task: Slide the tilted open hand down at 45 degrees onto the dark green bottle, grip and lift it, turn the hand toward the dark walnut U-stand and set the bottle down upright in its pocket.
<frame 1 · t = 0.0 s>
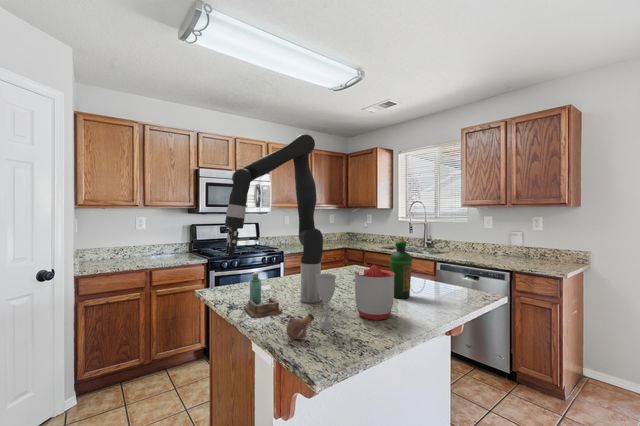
hand: (229, 255, 130), 22 cm above the countertop, tool pointing down, fingers open, 8 cm apart
chalice: (325, 327, 111), on the countertop
bottle: (255, 302, 141), on the countertop
citrus juicer: (372, 315, 124), on the countertop
bottle 2: (400, 297, 151), on the countertop
u rest: (262, 311, 128), on the countertop
brown animal figurine: (300, 339, 100), on the countertop
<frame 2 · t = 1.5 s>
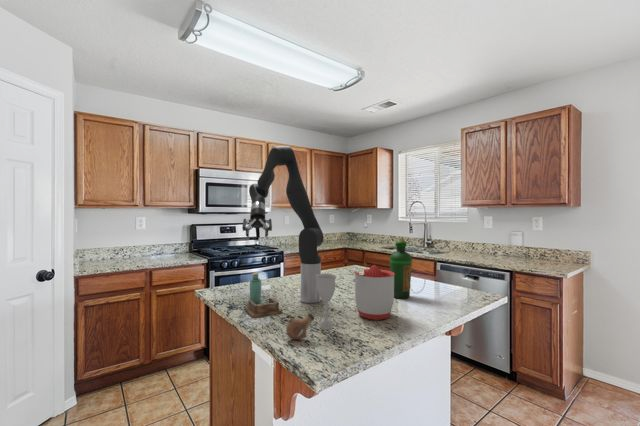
hand: (256, 236, 151), 29 cm above the countertop, tool tilted 45°, fingers open, 8 cm apart
nothing on the countertop moved.
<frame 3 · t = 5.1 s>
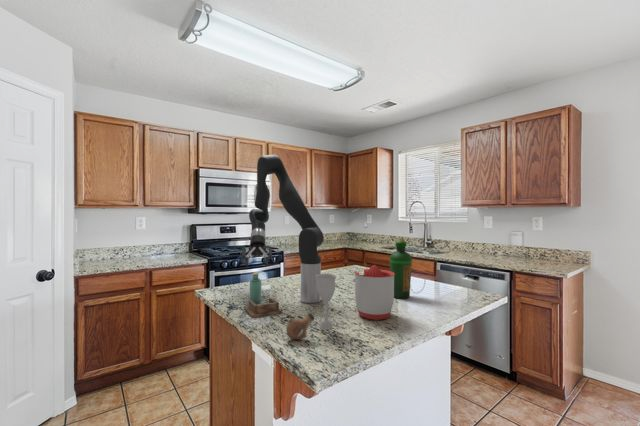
hand: (256, 265, 148), 15 cm above the countertop, tool tilted 45°, fingers open, 8 cm apart
nothing on the countertop moved.
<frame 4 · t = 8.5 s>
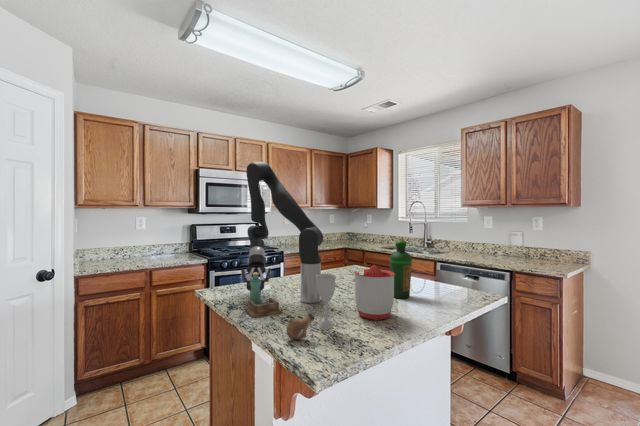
hand: (255, 289, 139), 6 cm above the countertop, tool tilted 45°, fingers closed on bottle, 5 cm apart
bottle: (255, 302, 141), on the countertop, touching gripper
everything else where it was.
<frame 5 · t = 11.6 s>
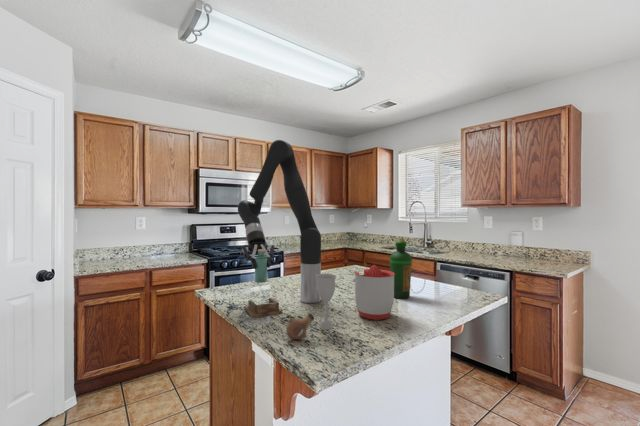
hand: (262, 267, 128), 18 cm above the countertop, tool tilted 45°, fingers closed on bottle, 5 cm apart
bottle: (261, 281, 129), point 12 cm above the countertop, touching gripper
everything else where it was.
when the fingers open (8 cm above the countertop, at t = 14.7 s): bottle drops 1 cm, resting on u rest.
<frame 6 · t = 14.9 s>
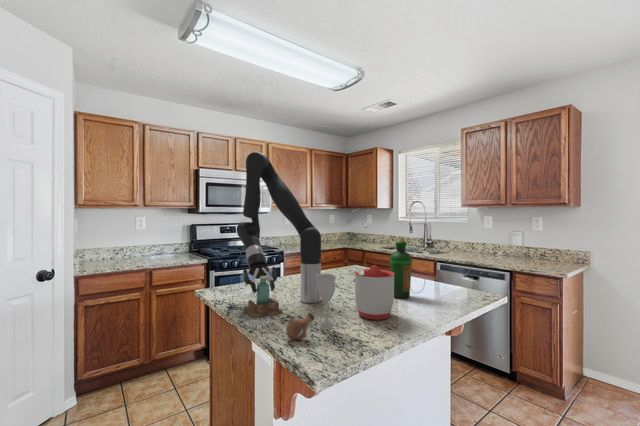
hand: (264, 290, 127), 9 cm above the countertop, tool tilted 45°, fingers open, 6 cm apart
bottle: (262, 308, 128), point 1 cm above the countertop, touching u rest
everything else where it was.
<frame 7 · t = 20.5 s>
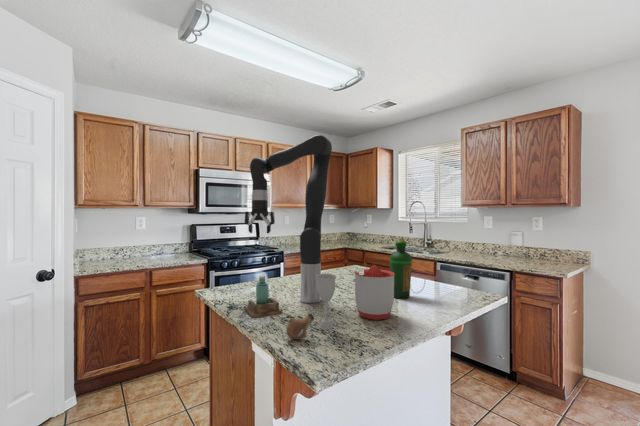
hand: (259, 233, 153), 30 cm above the countertop, tool pointing down, fingers open, 8 cm apart
nothing on the countertop moved.
at the end: bottle 0.2 cm off-centre on the u rest, point 1.1 cm above the u rest's base; bottle tilted 2°; the gripper is holding nothing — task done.
